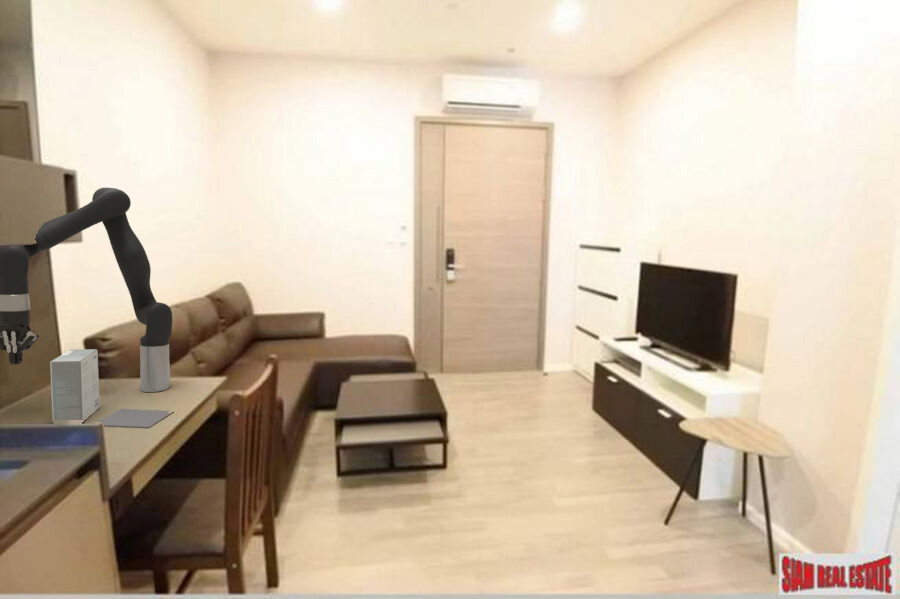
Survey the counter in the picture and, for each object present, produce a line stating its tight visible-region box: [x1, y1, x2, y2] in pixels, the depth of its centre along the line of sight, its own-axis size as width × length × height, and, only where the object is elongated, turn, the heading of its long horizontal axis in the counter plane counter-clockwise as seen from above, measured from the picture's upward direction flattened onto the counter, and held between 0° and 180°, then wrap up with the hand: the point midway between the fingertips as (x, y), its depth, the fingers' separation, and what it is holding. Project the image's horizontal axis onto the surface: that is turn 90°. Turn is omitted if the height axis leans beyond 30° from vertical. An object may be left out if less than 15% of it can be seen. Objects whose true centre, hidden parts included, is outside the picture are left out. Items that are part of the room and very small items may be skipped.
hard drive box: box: [49, 348, 101, 421], centre depth 146 cm, size 16×8×20 cm, turn 21°
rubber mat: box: [96, 408, 171, 429], centre depth 148 cm, size 14×17×1 cm
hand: (15, 363), depth 145 cm, fingers closed
